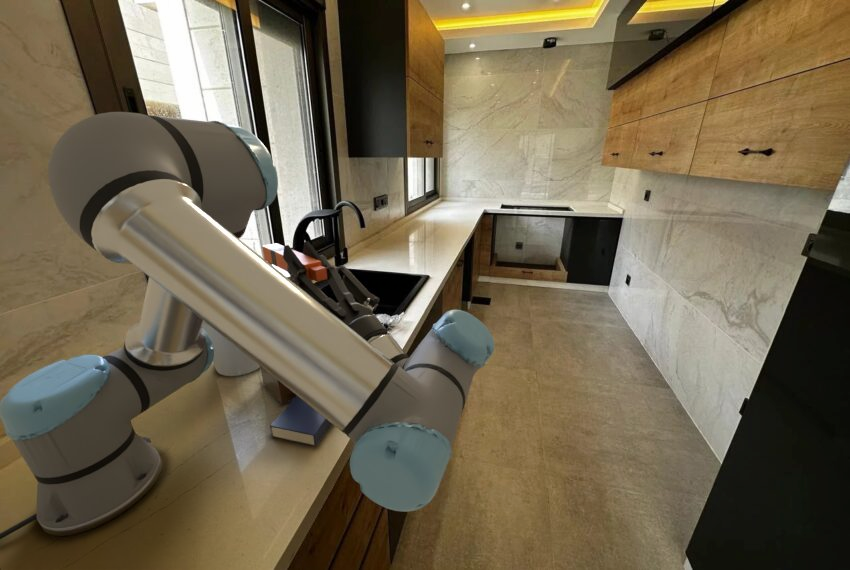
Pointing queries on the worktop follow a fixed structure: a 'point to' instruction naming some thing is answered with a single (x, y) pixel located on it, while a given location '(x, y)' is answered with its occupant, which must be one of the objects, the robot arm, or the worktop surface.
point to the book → (300, 423)
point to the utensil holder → (228, 355)
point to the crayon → (313, 266)
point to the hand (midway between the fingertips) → (295, 249)
